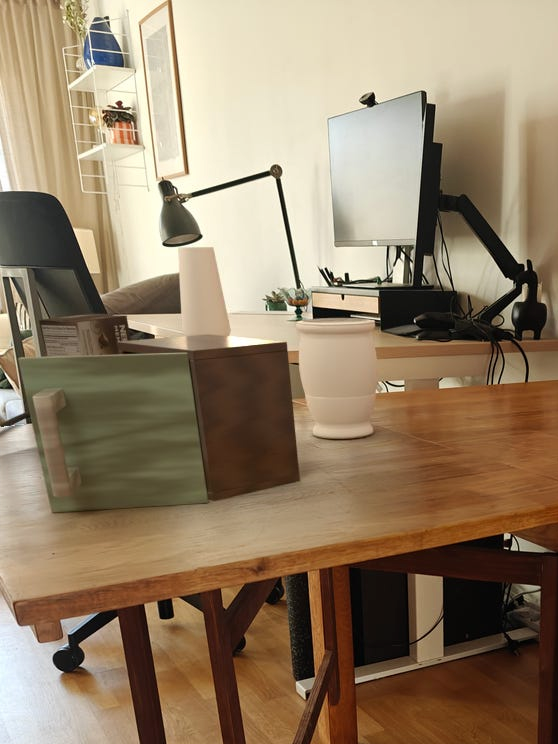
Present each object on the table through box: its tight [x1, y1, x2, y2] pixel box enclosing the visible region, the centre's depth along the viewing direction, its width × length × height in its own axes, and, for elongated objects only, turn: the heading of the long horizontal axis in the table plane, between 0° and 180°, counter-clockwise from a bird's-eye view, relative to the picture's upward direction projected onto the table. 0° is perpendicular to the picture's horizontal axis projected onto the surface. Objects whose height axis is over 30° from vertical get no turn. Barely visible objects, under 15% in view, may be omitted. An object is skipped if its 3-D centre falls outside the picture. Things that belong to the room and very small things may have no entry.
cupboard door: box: [17, 353, 209, 514], centre depth 81 cm, size 6×15×14 cm, turn 103°
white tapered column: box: [177, 246, 232, 336], centre depth 125 cm, size 7×7×24 cm
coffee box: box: [38, 313, 132, 357], centre depth 112 cm, size 9×6×16 cm
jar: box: [295, 317, 379, 440], centre depth 118 cm, size 11×10×15 cm
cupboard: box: [117, 334, 301, 502], centre depth 93 cm, size 11×15×15 cm
